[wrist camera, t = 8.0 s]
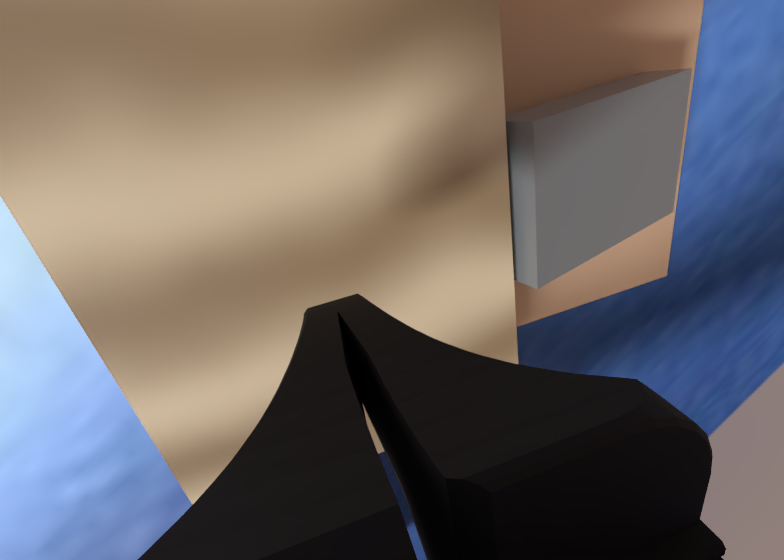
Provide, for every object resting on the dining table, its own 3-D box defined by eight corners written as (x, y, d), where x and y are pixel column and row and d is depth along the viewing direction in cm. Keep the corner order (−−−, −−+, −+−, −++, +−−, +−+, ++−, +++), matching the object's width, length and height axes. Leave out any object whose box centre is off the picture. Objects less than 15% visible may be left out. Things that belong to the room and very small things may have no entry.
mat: (662, 273, 24) (666, 275, 24) (486, 333, 22) (489, 336, 22) (708, -83, 17) (715, -86, 17) (451, -40, 15) (455, -42, 15)
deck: (479, 351, 23) (520, 400, 19) (210, 444, 20) (201, 519, 17) (434, -73, 14) (492, -122, 11) (-29, -3, 12) (-145, -38, 8)
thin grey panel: (630, 204, 21) (672, 212, 20) (498, 273, 18) (537, 289, 16) (641, 72, 18) (692, 68, 17) (487, 120, 15) (533, 121, 13)
